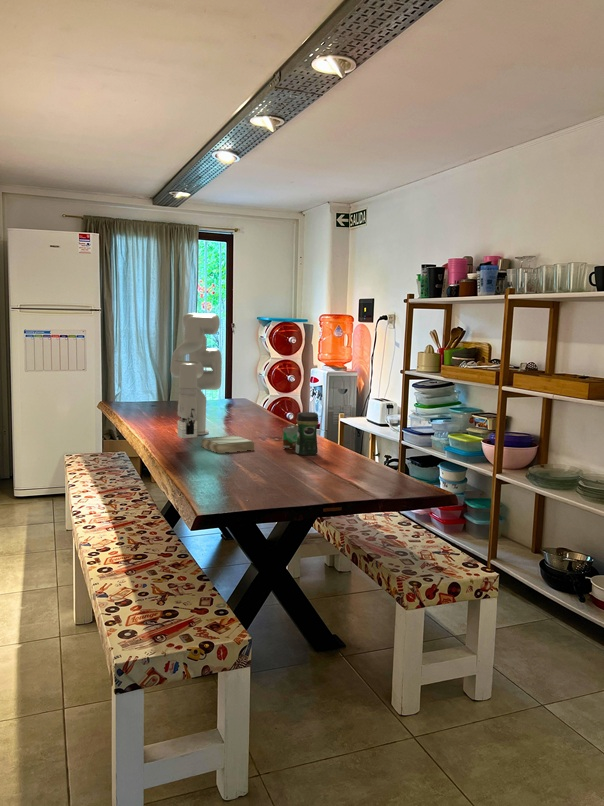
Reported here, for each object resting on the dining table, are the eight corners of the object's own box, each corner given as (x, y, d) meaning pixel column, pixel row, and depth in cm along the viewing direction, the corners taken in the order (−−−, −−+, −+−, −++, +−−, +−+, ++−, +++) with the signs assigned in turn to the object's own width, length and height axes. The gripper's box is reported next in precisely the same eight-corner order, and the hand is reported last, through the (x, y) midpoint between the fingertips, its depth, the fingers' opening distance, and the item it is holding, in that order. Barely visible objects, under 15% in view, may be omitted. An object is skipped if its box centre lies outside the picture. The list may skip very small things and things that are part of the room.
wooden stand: (201, 446, 294) (201, 438, 294) (236, 443, 304) (236, 435, 304) (218, 453, 281) (218, 444, 281) (254, 450, 292) (254, 441, 291)
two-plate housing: (177, 436, 286) (177, 420, 285) (192, 434, 290) (192, 419, 289) (182, 438, 282) (182, 422, 280) (197, 437, 286) (197, 421, 285)
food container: (295, 450, 294) (296, 428, 293) (282, 449, 295) (283, 427, 294) (301, 445, 306) (302, 424, 305) (288, 444, 307) (289, 423, 306)
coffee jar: (314, 451, 293) (316, 410, 291) (319, 455, 286) (321, 413, 284) (293, 452, 291) (295, 410, 289) (297, 455, 283) (299, 413, 281)
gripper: (171, 389, 287) (171, 430, 290) (188, 394, 274) (187, 437, 276) (187, 388, 292) (186, 428, 294) (204, 394, 278) (203, 436, 281)
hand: (187, 432), depth 285 cm, fingers closed on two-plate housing, 5 cm apart
